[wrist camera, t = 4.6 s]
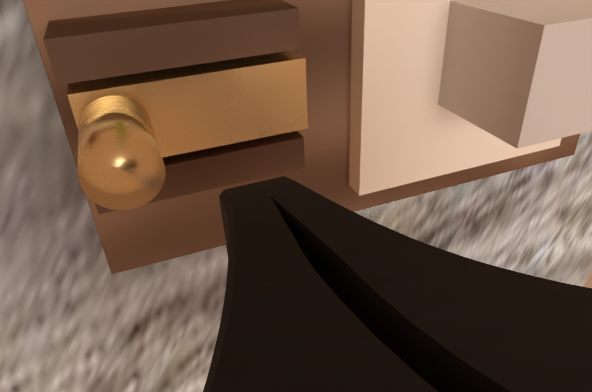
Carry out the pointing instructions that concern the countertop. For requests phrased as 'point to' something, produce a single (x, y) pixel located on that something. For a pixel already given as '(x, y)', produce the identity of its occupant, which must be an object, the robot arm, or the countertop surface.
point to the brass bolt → (178, 119)
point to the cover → (463, 84)
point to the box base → (233, 157)
